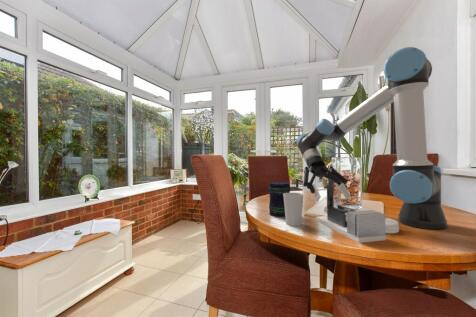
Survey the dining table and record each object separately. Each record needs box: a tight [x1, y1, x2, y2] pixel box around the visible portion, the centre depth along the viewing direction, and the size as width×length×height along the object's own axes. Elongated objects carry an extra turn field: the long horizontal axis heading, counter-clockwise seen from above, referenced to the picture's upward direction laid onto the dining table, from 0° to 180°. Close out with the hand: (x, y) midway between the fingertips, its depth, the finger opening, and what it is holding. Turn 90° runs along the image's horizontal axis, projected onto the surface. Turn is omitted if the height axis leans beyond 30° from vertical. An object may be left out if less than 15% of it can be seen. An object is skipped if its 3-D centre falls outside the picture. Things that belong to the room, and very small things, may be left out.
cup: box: [283, 192, 304, 227], centre depth 93 cm, size 8×8×12 cm
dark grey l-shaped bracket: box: [323, 179, 347, 222], centre depth 89 cm, size 16×3×14 cm, turn 12°
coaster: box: [385, 217, 400, 235], centre depth 85 cm, size 10×10×4 cm
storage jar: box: [268, 181, 291, 218], centre depth 107 cm, size 10×10×15 cm
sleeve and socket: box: [326, 204, 386, 238], centre depth 83 cm, size 20×10×7 cm, turn 12°
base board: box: [315, 215, 387, 244], centre depth 85 cm, size 26×10×2 cm, turn 12°
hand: (333, 198), depth 92 cm, fingers open, 13 cm apart
